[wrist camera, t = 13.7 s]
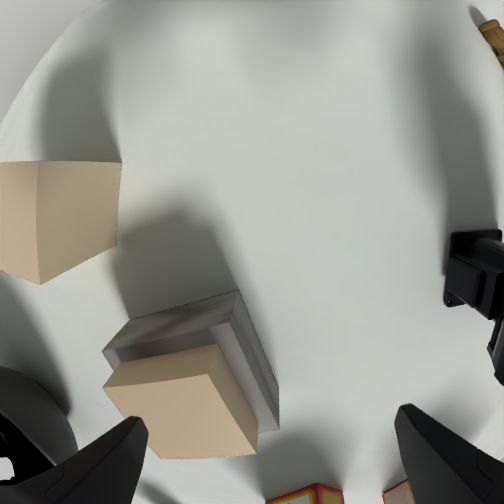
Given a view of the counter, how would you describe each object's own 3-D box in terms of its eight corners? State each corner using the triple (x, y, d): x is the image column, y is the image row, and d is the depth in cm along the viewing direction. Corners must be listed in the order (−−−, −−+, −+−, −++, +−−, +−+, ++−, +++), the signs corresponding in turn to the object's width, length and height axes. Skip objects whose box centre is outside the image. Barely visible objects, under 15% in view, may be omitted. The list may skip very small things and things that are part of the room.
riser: (238, 289, 21) (229, 321, 16) (278, 387, 23) (279, 429, 18) (129, 320, 22) (101, 350, 17) (179, 404, 24) (165, 441, 19)
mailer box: (121, 162, 19) (38, 161, 10) (116, 245, 20) (40, 285, 12) (61, 161, 19) (-20, 164, 10) (58, 234, 21) (-17, 262, 12)
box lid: (217, 343, 16) (207, 373, 13) (258, 422, 18) (256, 453, 15) (120, 362, 17) (102, 387, 14) (170, 432, 19) (160, 458, 16)
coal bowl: (87, 459, 31) (45, 536, 12) (-2, 382, 28) (-59, 441, 10) (121, 416, 26) (54, 540, 8) (1, 307, 24) (-98, 378, 6)
